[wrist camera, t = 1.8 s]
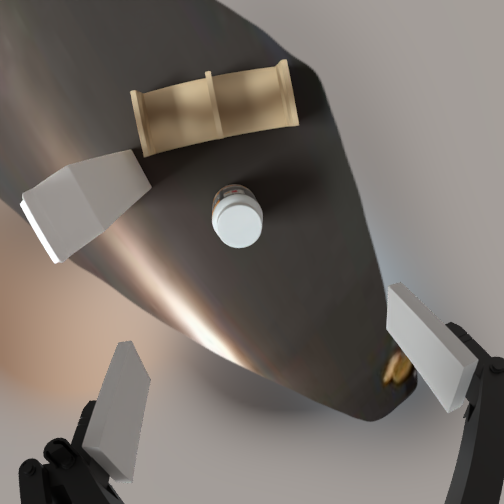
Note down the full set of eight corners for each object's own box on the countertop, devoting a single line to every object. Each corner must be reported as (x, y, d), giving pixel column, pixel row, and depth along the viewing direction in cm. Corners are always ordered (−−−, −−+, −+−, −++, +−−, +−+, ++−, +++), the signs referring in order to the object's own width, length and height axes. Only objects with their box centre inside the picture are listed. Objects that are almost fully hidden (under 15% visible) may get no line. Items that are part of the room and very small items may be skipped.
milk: (116, 209, 40) (36, 282, 20) (95, 171, 38) (-4, 216, 18) (153, 186, 40) (90, 247, 19) (132, 147, 37) (47, 170, 17)
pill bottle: (207, 189, 41) (204, 207, 31) (251, 179, 41) (260, 193, 31) (218, 230, 43) (219, 258, 34) (260, 220, 43) (272, 245, 34)
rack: (140, 96, 35) (130, 91, 30) (278, 67, 36) (286, 59, 31) (153, 154, 38) (144, 157, 33) (289, 125, 39) (299, 125, 34)
